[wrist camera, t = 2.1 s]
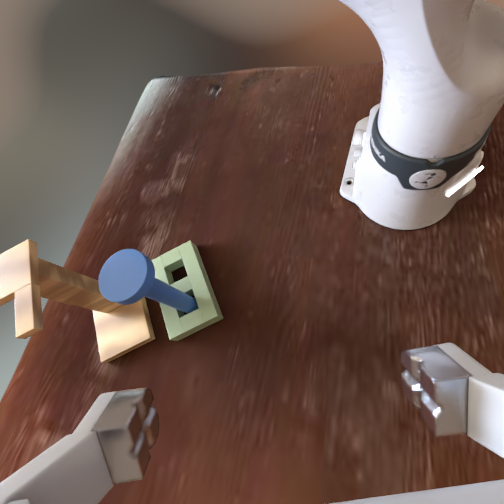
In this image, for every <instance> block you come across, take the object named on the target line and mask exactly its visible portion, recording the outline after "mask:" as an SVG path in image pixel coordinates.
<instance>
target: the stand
mask: <svg viewBox="0 0 504 504" xmlns="http://www.w3.org/2000/svg"><path fill="white" fill-rule="evenodd" d="M41 297H43V298H47V299H51V300H55V301H59V302H63V303H67V304H71V305H75V306H79V307H83V308H87V309H91V310H93V315H94V322H95V328H96V334H97V340H98V346H99V353H100V359H101V362H103V363H108V362H110V361H112V360H114V359H116V358H118V357H120V356H122V355H124V354H126V353H128V352H130V351H132V350H134V349H136V348H138V347H140V346H142V345H144V344H146V343H148V342H150V341H152V340H154V339H155V335H154V331H153V327H152V323H151V319H150V315H149V311H148V307H147V304H146V300H145V296H144V297H143V298H142V299H141V300H139V301H138V302H136V303H133V304H129V305H122V304H118V303H115V302H112V301H109V300H107V299H106V298H105V297H104V296H103V295H102V294H101V292H100V289H99V281H97V280H95V279H92V278H89V277H87V276H84V275H81V274H79V273H76V272H74V271H71V270H68V269H66V268H63V267H61V266H58V265H55V264H52V263H50V262H47V261H45V260H42V259H40V258H38V256H37V244H36V242H34V241H32V240H30V239H28V240H26V241H24V242H22V243H20V244H19V245H17V246H15V247H13V248H11V249H9V250H8V251H6V252H4V253H2V254H0V306H2V305H3V304H5V303H7V302H9V301H11V300H13V299H15V327H16V338H23V339H26V338H28V337H30V336H32V335H34V334H36V333H38V332H40V331H41V330H43V321H42V308H41Z"/></svg>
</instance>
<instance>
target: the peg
mask: <svg viewBox="0 0 504 504" xmlns="http://www.w3.org/2000/svg"><path fill="white" fill-rule="evenodd" d="M99 289H100V292H101V294H102V295H103V296H104V297H105V298H106V299H107V300H109V301H112V302H115V303H118V304H122V305H129V304H133V303H136V302H138V301H139V300H141V299H142V298H143V297H144V296H145V297H147V298H150V299H152V300H155V301H157V302H160V303H162V304H165V305H167V306H170V307H173V308H175V309H178V310H180V311H183V312H185V313H188V314H189V313H191V312H193V311H195V310H197V309H199V307H198V304H197V301H196V299H195V298H193V297H191V296H189V295H188V294H186V293H184V292H182V291H180V290H178V289H176V288H174V287H172V286H170V285H168V284H167V283H165V282H163V281H161V280H159V279H157V278H155V268H154V264H153V262H152V261H151V259H150V258H149V257H147V256H146V255H144V254H143V253H141V252H139V251H137V250H135V249H124V250H121V251H119V252H117V253H115V254H113V255H112V256H111V257H110V258H109V259H108V260H107V261H106V262H105V264H104V265H103V267H102V269H101V272H100V275H99Z"/></svg>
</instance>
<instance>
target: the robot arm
mask: <svg viewBox="0 0 504 504" xmlns="http://www.w3.org/2000/svg"><path fill="white" fill-rule="evenodd" d="M339 1H341V2H342V3H344V4H345V5H347V6H348V7H349V8H351V9H352V10H353V11H354V12H355V13H357V14H358V15H359V16H360V17H361V19H362V20H363V21H364V22H365V23H366V24H367V25H368V27H369V28H370V29H371V31H372V33H373V34H374V36H375V38H376V40H377V42H378V44H379V46H380V49H381V53H382V57H383V86H382V96H381V103H379V104H377V105H376V106H374V107H373V108H372V109H371V111H370V115H369V116H368V117H366V118H364V119H362V120H360V121H359V122H357V124H356V127H355V130H354V135H353V139H352V143H351V147H350V151H349V155H348V159H347V163H346V167H345V171H344V175H343V180H342V184H341V188H340V194H341V195H342V196H343V197H344V198H346V199H348V200H350V201H352V202H354V203H355V204H356V205H357V206H358V207H359V208H360V209H361V210H362V211H363V213H364V214H365V215H366V216H368V217H369V218H370V219H371V220H373V221H375V222H376V223H378V224H380V225H383V226H386V227H389V228H393V229H400V230H413V229H420V228H424V227H427V226H430V225H432V224H434V223H436V222H438V221H439V220H441V219H442V218H443V217H445V216H446V215H447V214H448V213H449V211H450V210H451V209H452V207H453V206H454V204H455V203H456V202H457V201H458V200H459V199H461V198H463V197H465V196H467V195H468V194H470V193H471V192H472V191H473V190H474V188H475V186H476V181H475V179H474V176H475V175H476V174H477V173H479V172H480V171H481V170H482V169H483V168H484V167H483V166H481V167H480V168H478V166H479V164H480V162H481V160H482V158H483V155H484V152H483V151H481V149H482V147H483V145H484V143H485V142H486V139H487V137H488V135H489V132H490V130H491V126H492V121H493V119H494V118H495V116H496V115H497V113H498V112H499V110H500V109H501V107H502V105H503V104H504V9H502V8H500V7H498V6H497V5H495V4H493V3H490V2H488V1H485V0H339ZM477 168H478V169H477ZM347 183H351V185H348V184H347ZM401 363H402V364H403V366H404V367H405V370H404V371H403V373H402V374H401V378H402V386H403V389H404V392H405V395H406V397H407V399H408V400H409V402H410V403H411V405H412V406H413V407H415V408H416V409H418V410H420V411H422V419H423V421H424V422H425V423H426V425H427V426H428V427H429V429H430V430H431V431H432V433H433V434H434V435H435V437H443V436H452V435H461V434H467V436H469V437H471V438H472V439H474V440H475V441H477V442H479V443H480V444H482V445H483V446H485V447H487V448H488V449H490V450H491V451H493V452H494V453H496V454H498V455H499V456H501V457H502V458H504V374H501V373H492V372H490V371H489V370H488V369H486V368H485V367H484V366H482V365H481V364H480V363H479V362H477V361H476V360H475V359H473V358H472V357H471V356H469V355H468V354H467V353H465V352H464V351H463V350H462V349H460V348H459V347H458V346H456V345H455V344H453V343H450V342H449V343H444V344H438V345H434V346H429V347H423V348H416V349H410V350H404V351H402V352H401ZM153 399H154V398H153V394H152V391H151V389H149V388H141V389H132V390H124V391H118V392H110V393H103V394H101V395H99V397H98V398H97V400H96V401H95V402H94V404H93V405H92V407H91V408H90V410H89V411H88V412H87V414H86V415H85V417H84V418H83V420H82V421H81V422H80V424H79V425H78V427H77V428H76V430H75V431H74V432H73V434H71V435H66V436H65V437H64V438H62V439H61V440H59V441H58V442H57V443H55V444H54V445H53V446H51V447H50V448H48V449H47V450H46V451H44V452H43V453H41V454H40V455H39V456H37V457H36V458H34V459H33V460H32V461H30V462H29V463H27V464H26V465H25V466H23V467H22V468H20V469H19V470H18V471H16V472H15V473H13V474H12V475H11V476H9V477H8V478H6V479H5V480H4V481H2V482H1V483H0V504H98V503H99V502H100V501H101V500H102V499H103V497H104V496H105V495H106V494H107V493H108V492H109V490H110V489H111V488H112V487H113V484H116V483H122V482H127V481H133V480H139V479H143V478H144V475H145V472H146V469H147V466H148V463H149V461H150V458H151V456H150V452H149V450H150V449H151V448H152V447H153V446H154V445H155V443H156V440H157V437H158V432H159V416H158V412H157V410H156V409H155V408H154V407H153V406H151V404H152V401H153ZM330 504H504V480H497V481H489V482H482V483H475V484H468V485H461V486H454V487H447V488H439V489H432V490H425V491H418V492H410V493H403V494H396V495H388V496H381V497H374V498H366V499H359V500H352V501H344V502H337V503H330Z"/></svg>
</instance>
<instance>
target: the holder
mask: <svg viewBox="0 0 504 504" xmlns="http://www.w3.org/2000/svg"><path fill="white" fill-rule="evenodd" d="M152 262H153V264H154V268H155V278H157V279H159V280H161V281H163V282H165V283H167V284H168V285H170V286H172V287H174V288H176V289H178V290H180V291H182V292H184V293H186V294H188V295H189V296H193V295H194V296H195V298H196V301H197V304H198V307H199V309H197V310H195V311H193V312H191V313H189V314H187V315H184V312H183V311H180V310H178V309H175V308H173V307H170V306H167V305H165V304H162V303H160V302H159V303H160V307H161V310H162V314H163V318H164V321H165V325H166V329H167V332H168V336H169V339H170V340H174V341H179V340H181V339H183V338H185V337H187V336H189V335H191V334H193V333H195V332H197V331H199V330H201V329H203V328H205V327H207V326H209V325H211V324H213V323H215V322H217V321H219V320H221V319H223V316H222V313H221V310H220V308H219V305H218V302H217V300H216V297H215V294H214V292H213V289H212V286H211V284H210V281H209V278H208V276H207V273H206V270H205V268H204V265H203V262H202V259H201V257H200V254H199V251H198V249H197V246H196V245H195V244H194V243H193V242H192V241H188V242H186V243H184V244H182V245H180V246H178V247H177V248H175V249H173V250H171V251H169V252H167V253H165V254H163V255H161V256H159V257H157V258H155V259H153V260H152ZM182 266H185V269H186V272H187V275H188V276H187V277H185V278H183V279H181V280H179V281H177V282H175V283H174V279H173V276H172V273H171V272H172V271H174V270H176V269H178V268H180V267H182Z"/></svg>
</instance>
